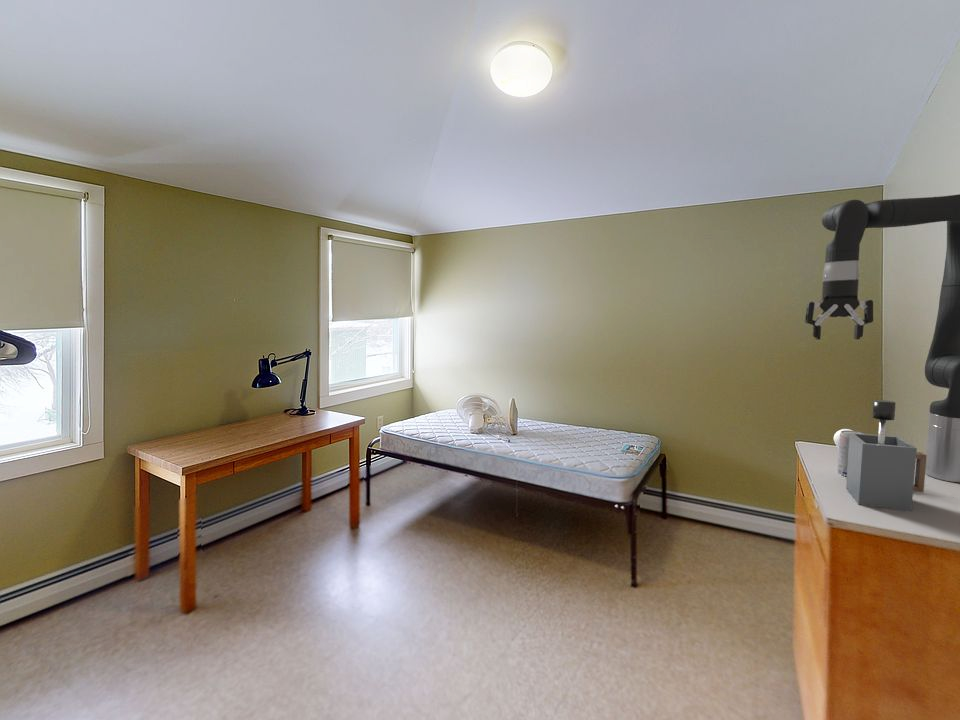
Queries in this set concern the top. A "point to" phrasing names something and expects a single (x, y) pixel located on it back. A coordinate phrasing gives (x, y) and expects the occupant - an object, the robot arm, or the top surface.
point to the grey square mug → (884, 471)
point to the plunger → (883, 416)
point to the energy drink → (844, 451)
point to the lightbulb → (837, 436)
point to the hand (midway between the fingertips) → (836, 339)
